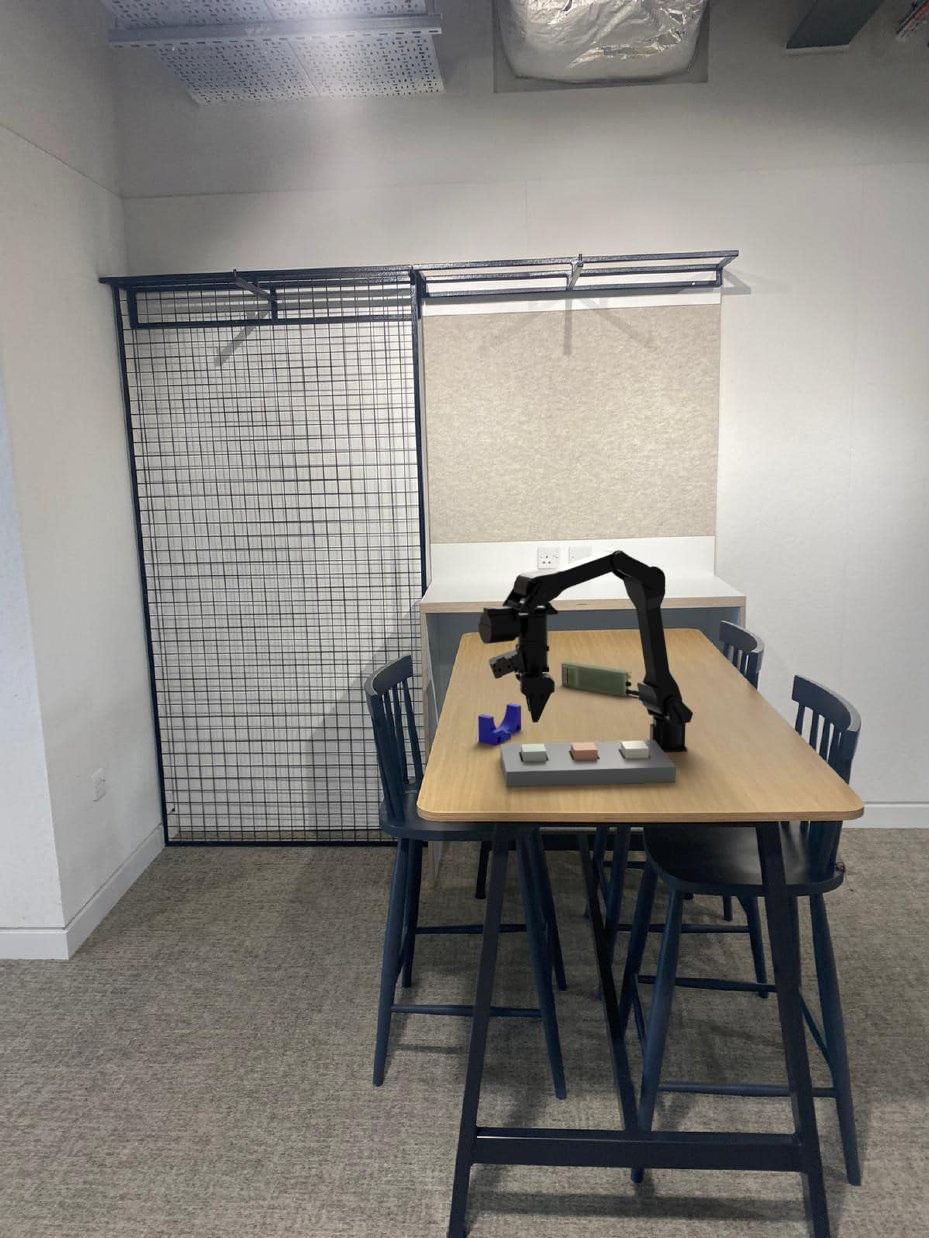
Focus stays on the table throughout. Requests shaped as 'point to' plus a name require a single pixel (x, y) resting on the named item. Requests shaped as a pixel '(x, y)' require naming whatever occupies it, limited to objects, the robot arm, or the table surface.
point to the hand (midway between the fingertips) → (533, 716)
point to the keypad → (585, 766)
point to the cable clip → (500, 726)
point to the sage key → (533, 752)
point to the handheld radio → (597, 678)
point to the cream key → (634, 749)
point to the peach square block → (584, 751)
